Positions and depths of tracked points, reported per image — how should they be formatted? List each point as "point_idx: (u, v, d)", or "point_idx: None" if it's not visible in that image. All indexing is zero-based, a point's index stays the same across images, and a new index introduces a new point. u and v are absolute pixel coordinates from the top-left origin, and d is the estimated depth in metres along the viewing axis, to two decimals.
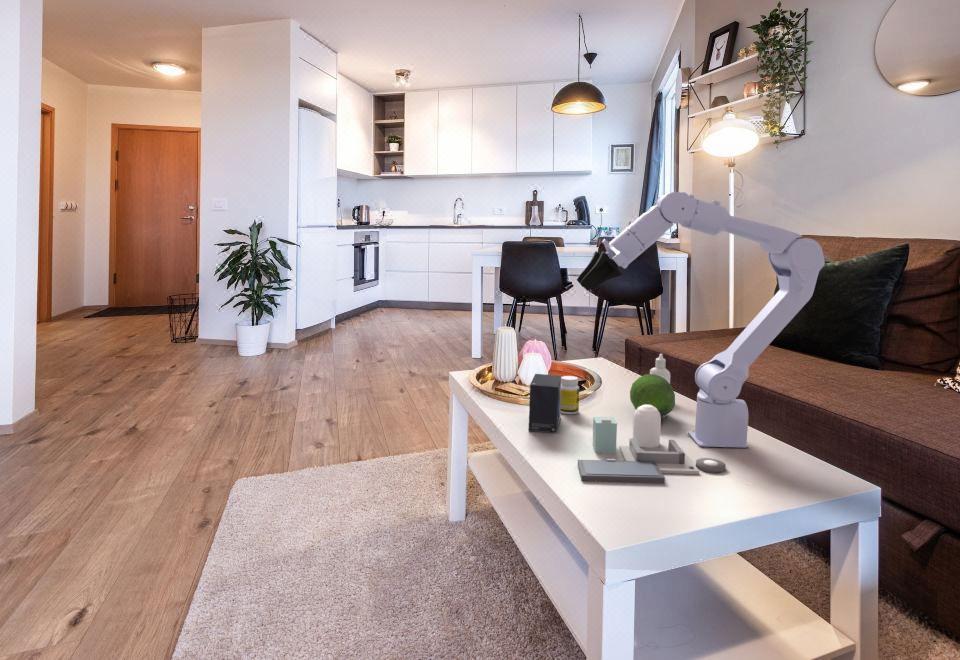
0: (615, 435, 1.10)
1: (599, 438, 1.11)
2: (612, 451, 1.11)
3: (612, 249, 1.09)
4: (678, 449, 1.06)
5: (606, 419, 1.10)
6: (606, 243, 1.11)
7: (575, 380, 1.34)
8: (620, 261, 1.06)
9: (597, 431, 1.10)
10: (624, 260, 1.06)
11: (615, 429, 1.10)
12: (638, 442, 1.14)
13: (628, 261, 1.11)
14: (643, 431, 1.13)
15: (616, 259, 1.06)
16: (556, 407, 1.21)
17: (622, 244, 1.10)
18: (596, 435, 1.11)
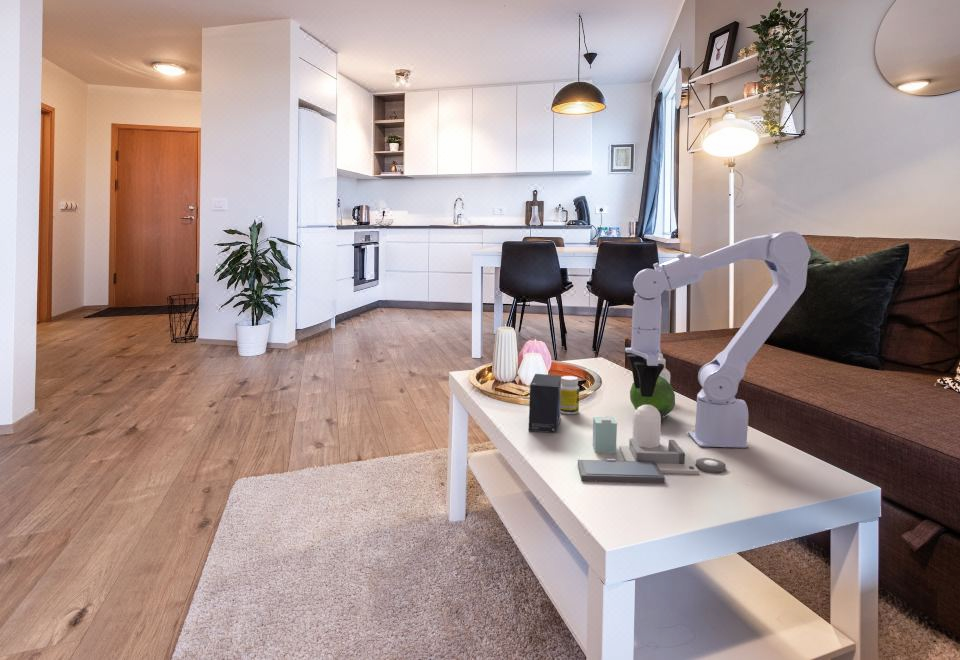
0: (615, 435, 1.10)
1: (599, 438, 1.11)
2: (612, 451, 1.11)
3: (639, 354, 1.14)
4: (678, 449, 1.06)
5: (606, 419, 1.10)
6: (630, 351, 1.17)
7: (575, 380, 1.34)
8: (654, 362, 1.11)
9: (597, 431, 1.10)
10: (657, 358, 1.10)
11: (615, 429, 1.10)
12: (638, 442, 1.14)
13: (658, 348, 1.16)
14: (643, 432, 1.13)
15: (650, 363, 1.11)
16: (556, 407, 1.21)
17: (642, 343, 1.15)
18: (596, 435, 1.11)
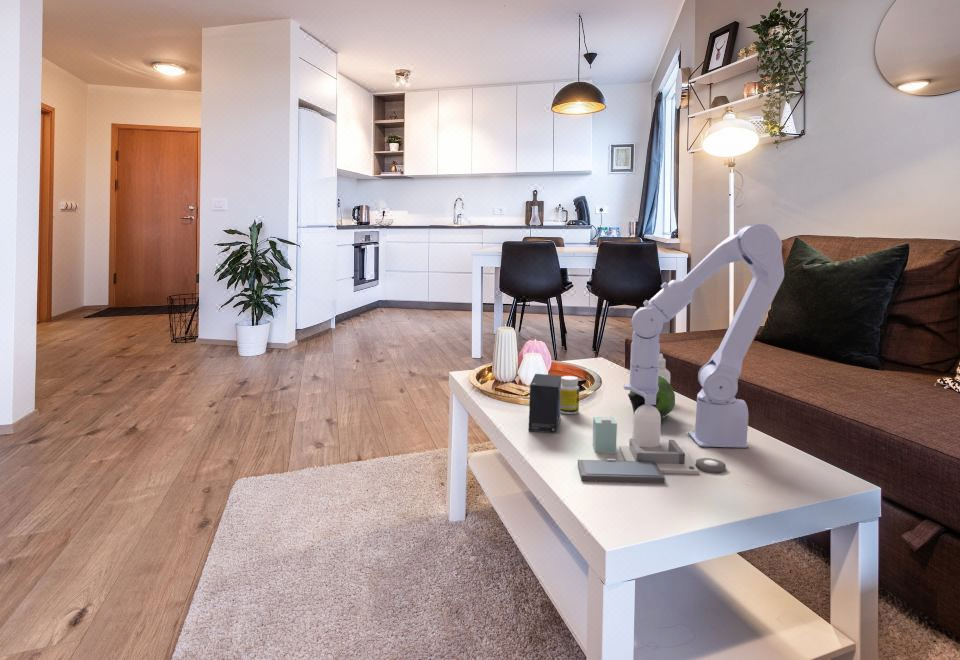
0: (615, 435, 1.10)
1: (599, 438, 1.11)
2: (612, 451, 1.11)
3: (637, 392, 1.15)
4: (678, 449, 1.06)
5: (606, 419, 1.10)
6: (628, 388, 1.18)
7: (575, 380, 1.34)
8: (652, 401, 1.12)
9: (597, 431, 1.10)
10: (655, 397, 1.12)
11: (615, 429, 1.10)
12: (638, 442, 1.14)
13: (656, 386, 1.17)
14: (643, 431, 1.13)
15: (648, 402, 1.12)
16: (556, 407, 1.21)
17: (640, 381, 1.16)
18: (596, 435, 1.11)
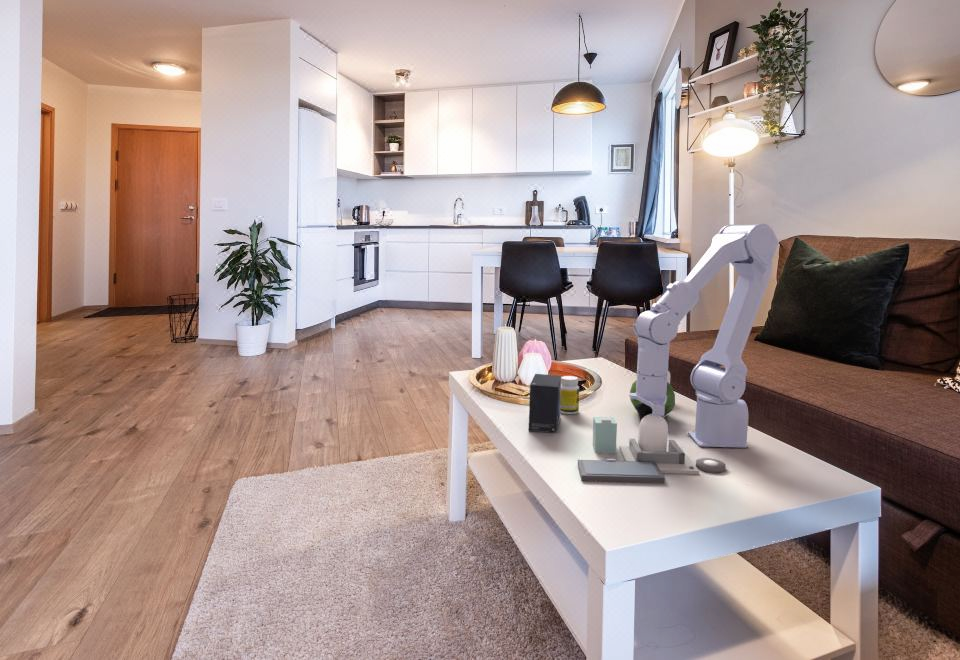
0: (615, 435, 1.10)
1: (599, 438, 1.11)
2: (612, 451, 1.11)
3: (644, 402, 1.08)
4: (678, 449, 1.06)
5: (606, 419, 1.10)
6: (635, 397, 1.11)
7: (575, 380, 1.34)
8: (661, 412, 1.04)
9: (597, 431, 1.10)
10: (663, 408, 1.04)
11: (615, 429, 1.10)
12: None
13: (664, 395, 1.09)
14: (649, 443, 1.07)
15: (656, 413, 1.04)
16: (556, 407, 1.21)
17: (647, 390, 1.09)
18: (596, 435, 1.11)
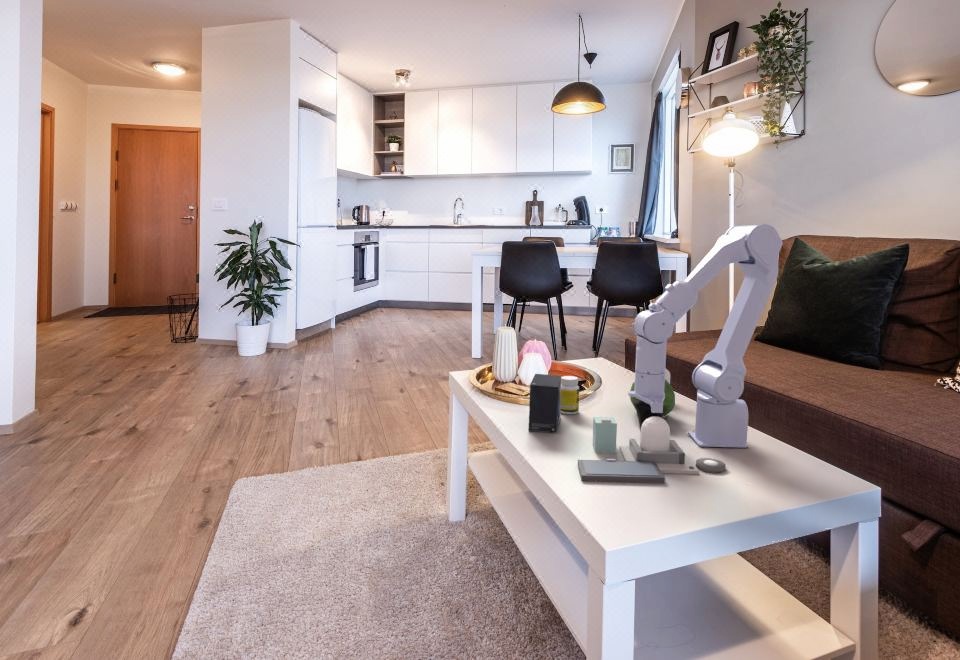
0: (615, 435, 1.10)
1: (599, 438, 1.11)
2: (612, 451, 1.11)
3: (643, 400, 1.10)
4: (678, 449, 1.06)
5: (606, 419, 1.10)
6: (633, 395, 1.13)
7: (575, 380, 1.34)
8: (659, 409, 1.07)
9: (597, 431, 1.10)
10: (662, 405, 1.07)
11: (615, 429, 1.10)
12: None
13: (662, 392, 1.12)
14: (651, 446, 1.06)
15: (655, 410, 1.07)
16: (556, 407, 1.21)
17: (646, 388, 1.11)
18: (596, 435, 1.11)
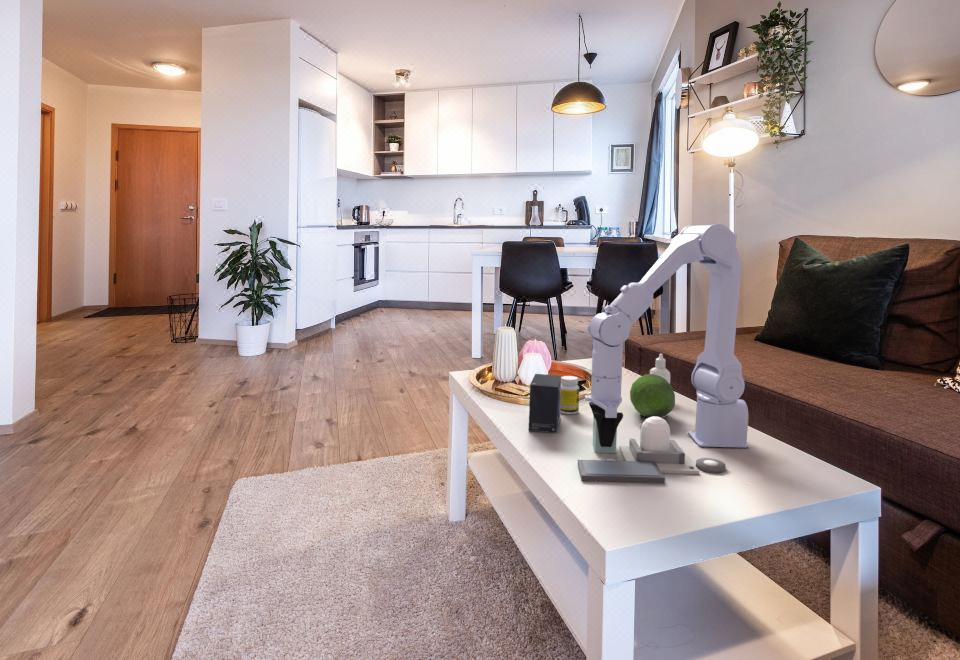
0: (615, 434, 1.10)
1: None
2: (612, 451, 1.11)
3: (598, 404, 1.08)
4: (678, 449, 1.06)
5: None
6: (589, 400, 1.10)
7: (575, 380, 1.34)
8: (613, 414, 1.04)
9: (597, 431, 1.10)
10: (615, 410, 1.04)
11: None
12: None
13: (618, 397, 1.09)
14: (651, 446, 1.06)
15: (609, 415, 1.04)
16: (556, 407, 1.21)
17: (601, 392, 1.08)
18: (596, 435, 1.11)
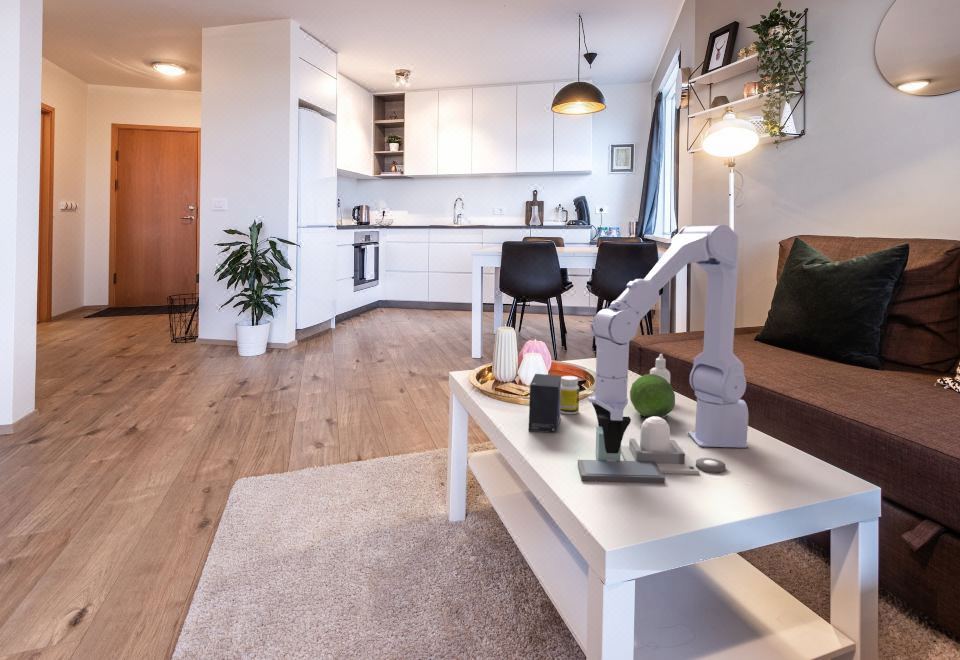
0: (620, 446, 1.04)
1: (603, 449, 1.05)
2: None
3: (603, 406, 1.02)
4: (678, 449, 1.06)
5: None
6: (593, 401, 1.04)
7: (575, 380, 1.34)
8: (619, 416, 0.98)
9: (600, 442, 1.04)
10: (621, 412, 0.98)
11: None
12: None
13: (624, 398, 1.03)
14: (651, 446, 1.06)
15: (614, 418, 0.98)
16: (556, 407, 1.21)
17: (606, 393, 1.02)
18: (599, 446, 1.05)
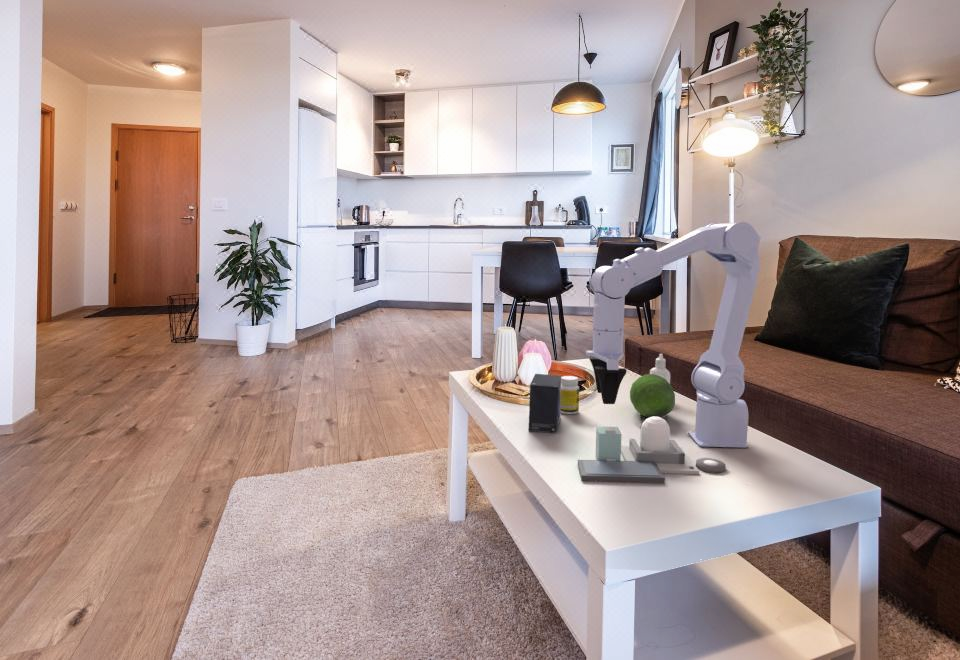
0: (620, 446, 1.04)
1: (603, 449, 1.05)
2: None
3: (600, 358, 1.06)
4: (678, 449, 1.06)
5: (610, 429, 1.04)
6: (591, 354, 1.09)
7: (575, 380, 1.34)
8: (615, 366, 1.03)
9: (600, 442, 1.04)
10: (617, 362, 1.03)
11: (619, 440, 1.04)
12: None
13: (620, 351, 1.08)
14: (651, 446, 1.06)
15: (610, 367, 1.03)
16: (556, 407, 1.21)
17: (603, 346, 1.07)
18: (599, 446, 1.05)
